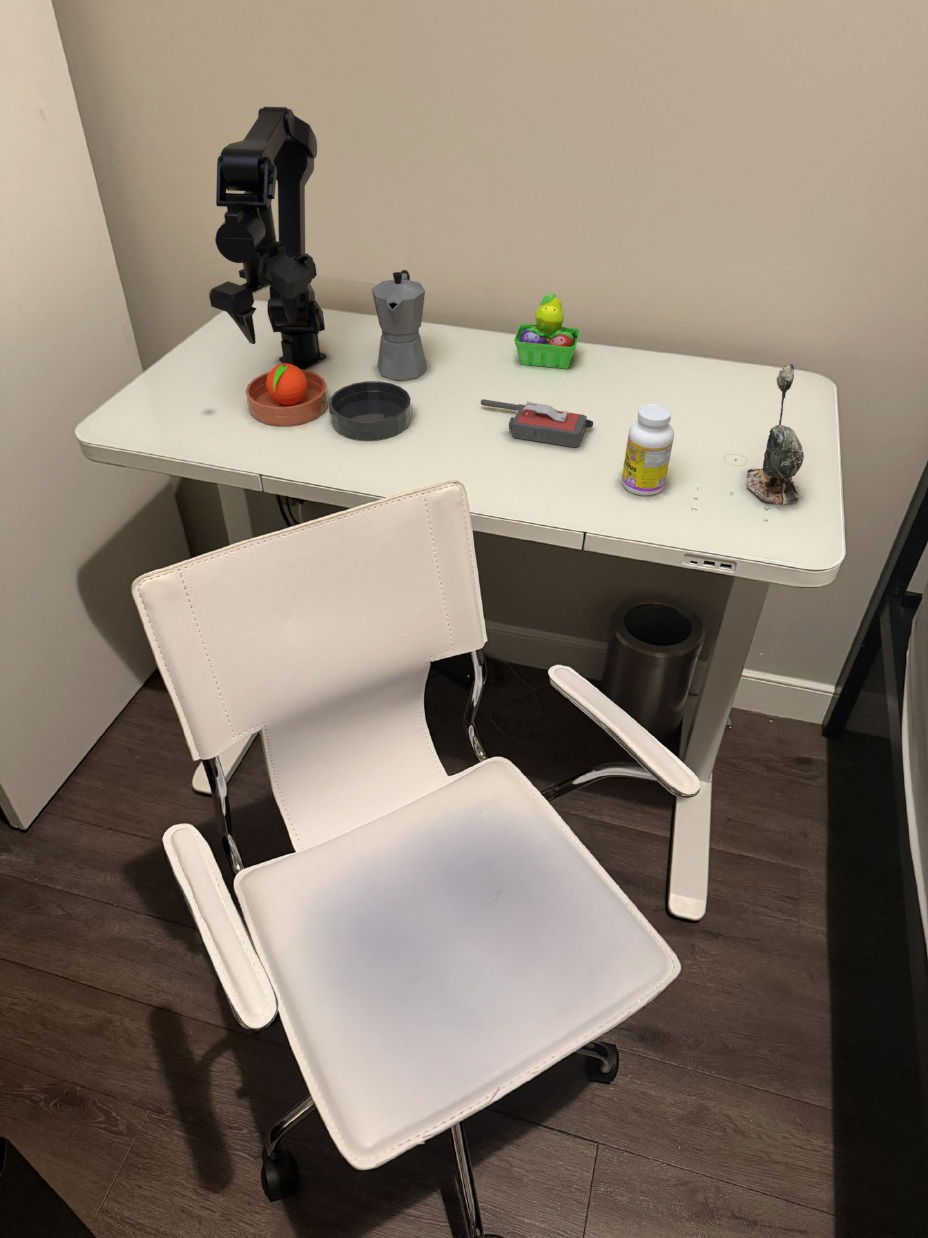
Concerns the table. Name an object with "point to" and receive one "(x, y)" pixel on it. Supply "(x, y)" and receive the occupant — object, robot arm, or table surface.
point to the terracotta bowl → (287, 415)
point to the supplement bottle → (648, 450)
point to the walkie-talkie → (544, 423)
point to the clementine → (286, 384)
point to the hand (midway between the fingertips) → (272, 332)
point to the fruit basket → (547, 337)
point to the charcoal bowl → (370, 410)
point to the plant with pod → (779, 457)
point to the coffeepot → (400, 327)
